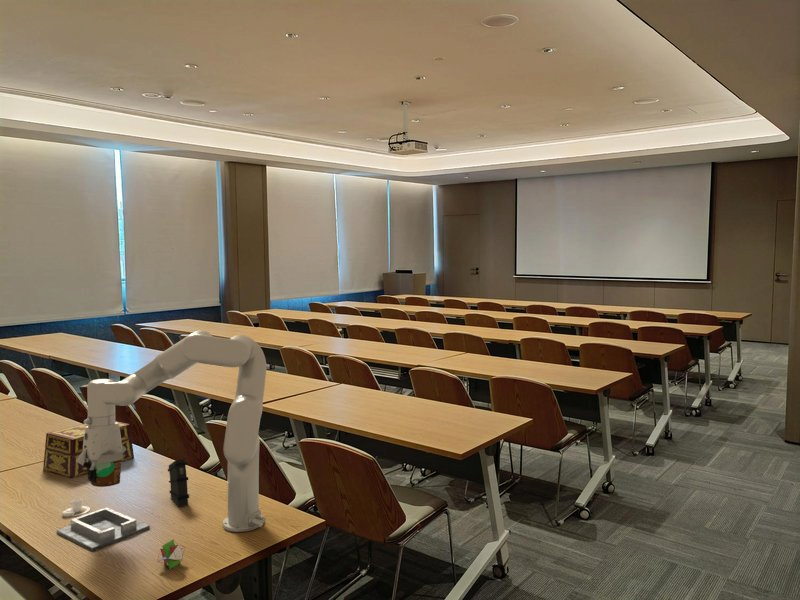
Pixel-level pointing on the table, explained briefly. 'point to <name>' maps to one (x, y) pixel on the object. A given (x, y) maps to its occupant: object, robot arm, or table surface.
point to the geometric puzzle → (171, 554)
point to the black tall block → (178, 482)
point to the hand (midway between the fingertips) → (102, 478)
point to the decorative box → (76, 450)
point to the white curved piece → (75, 508)
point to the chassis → (101, 528)
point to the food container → (107, 470)
